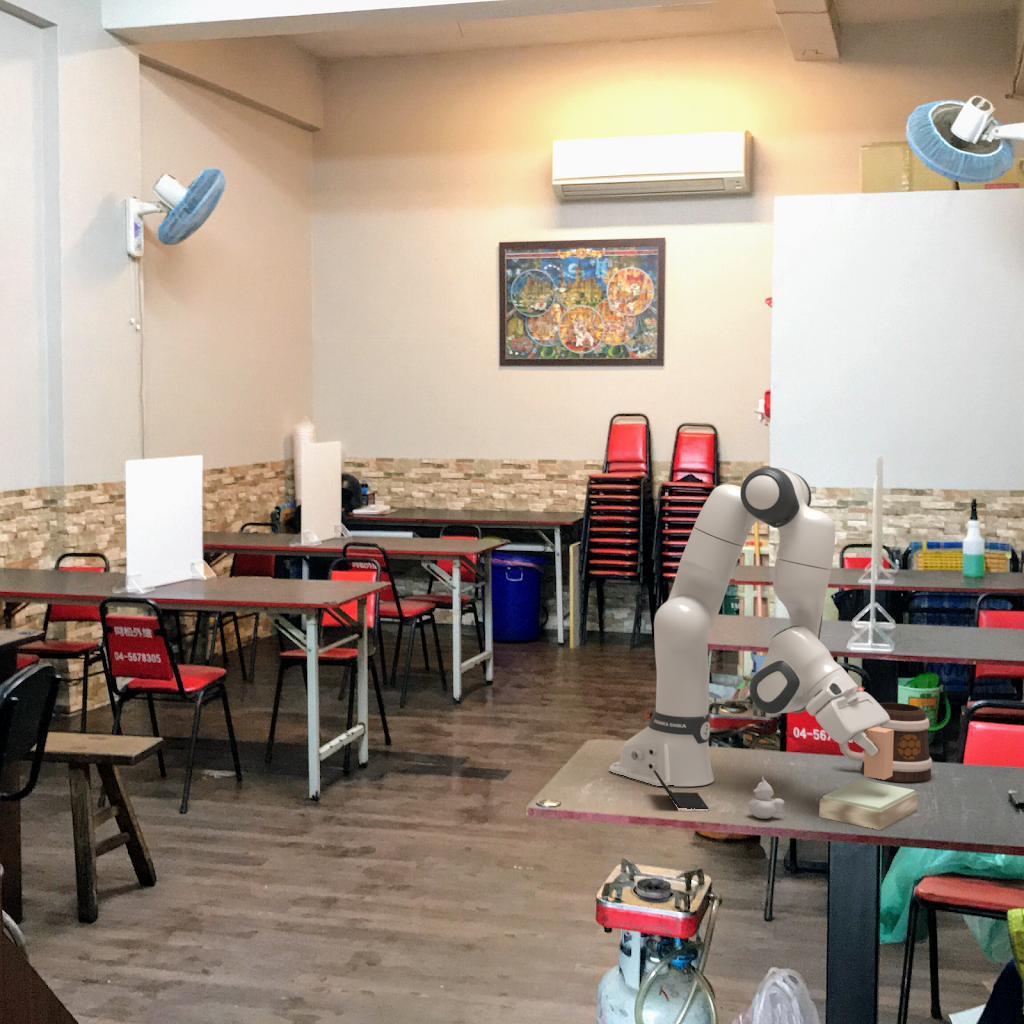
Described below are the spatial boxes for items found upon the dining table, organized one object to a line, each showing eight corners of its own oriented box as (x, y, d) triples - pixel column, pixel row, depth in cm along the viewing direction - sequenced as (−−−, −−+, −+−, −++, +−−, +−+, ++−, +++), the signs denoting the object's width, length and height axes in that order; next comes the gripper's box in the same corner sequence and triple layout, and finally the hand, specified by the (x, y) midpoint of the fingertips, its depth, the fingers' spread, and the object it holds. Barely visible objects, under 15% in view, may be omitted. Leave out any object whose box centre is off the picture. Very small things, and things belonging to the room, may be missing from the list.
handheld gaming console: (719, 803, 230) (687, 762, 229) (691, 827, 228) (659, 786, 228) (698, 795, 241) (668, 756, 241) (671, 818, 239) (641, 779, 239)
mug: (925, 768, 268) (928, 702, 267) (938, 786, 253) (941, 716, 252) (833, 763, 271) (836, 697, 270) (841, 780, 256) (844, 710, 255)
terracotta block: (863, 776, 229) (865, 729, 229) (872, 772, 232) (873, 726, 232) (884, 779, 227) (885, 732, 226) (892, 776, 230) (893, 729, 229)
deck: (819, 816, 228) (820, 796, 227) (858, 798, 241) (859, 778, 241) (880, 830, 220) (880, 808, 220) (916, 810, 234) (917, 790, 234)
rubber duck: (748, 812, 229) (749, 771, 229) (783, 815, 228) (785, 774, 228) (748, 820, 224) (749, 778, 223) (784, 823, 223) (785, 781, 222)
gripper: (846, 697, 244) (891, 752, 238) (801, 710, 229) (848, 770, 223) (868, 677, 241) (914, 733, 235) (823, 690, 226) (872, 750, 220)
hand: (882, 751), depth 229 cm, fingers closed on terracotta block, 4 cm apart
